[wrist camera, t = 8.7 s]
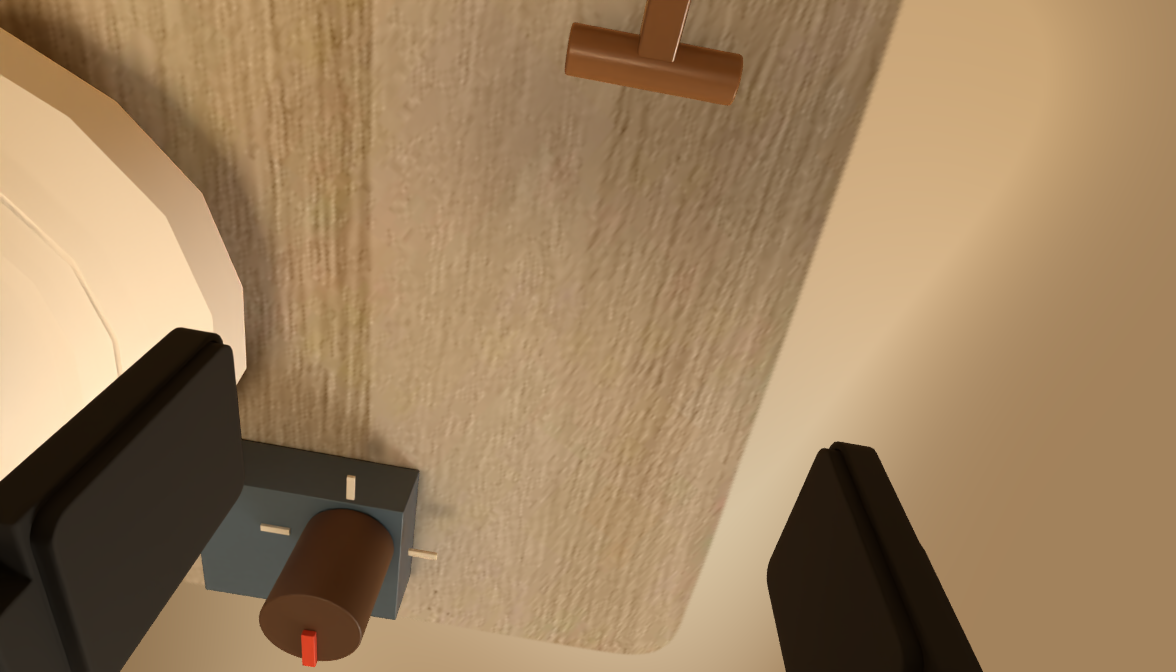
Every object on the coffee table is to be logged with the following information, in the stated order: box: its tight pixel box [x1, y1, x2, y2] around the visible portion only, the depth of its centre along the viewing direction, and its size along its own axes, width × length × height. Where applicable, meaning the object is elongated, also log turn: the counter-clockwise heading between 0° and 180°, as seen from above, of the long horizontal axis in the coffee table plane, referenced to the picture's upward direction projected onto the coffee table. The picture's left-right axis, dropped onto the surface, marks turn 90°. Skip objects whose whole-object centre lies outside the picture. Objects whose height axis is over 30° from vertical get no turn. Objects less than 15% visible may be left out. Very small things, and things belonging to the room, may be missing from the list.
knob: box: [259, 509, 394, 667], centre depth 32 cm, size 4×4×5 cm
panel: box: [201, 440, 437, 620], centre depth 36 cm, size 12×10×3 cm
